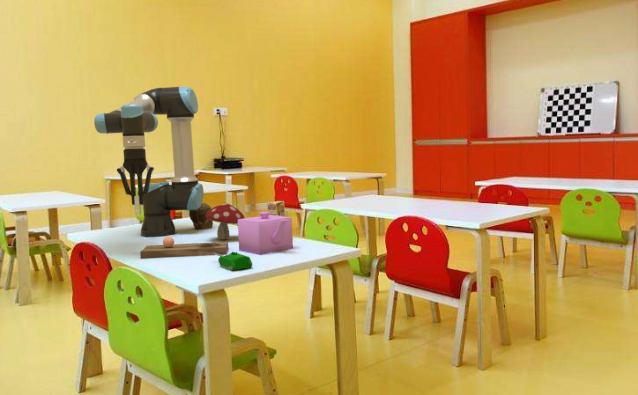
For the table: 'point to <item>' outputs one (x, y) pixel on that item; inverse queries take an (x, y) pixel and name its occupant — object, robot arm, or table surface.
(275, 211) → the candy box
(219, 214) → the decorative mushroom
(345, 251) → the table surface
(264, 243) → the teapot
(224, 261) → the toy tank
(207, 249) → the walnut board
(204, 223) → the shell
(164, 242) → the coral ball
